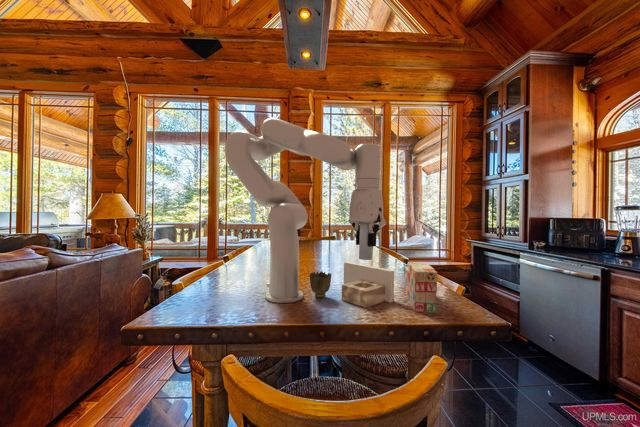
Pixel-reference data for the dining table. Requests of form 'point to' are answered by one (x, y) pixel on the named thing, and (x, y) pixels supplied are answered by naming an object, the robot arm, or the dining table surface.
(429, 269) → the stack of blocks
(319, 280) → the cup
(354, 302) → the socket block
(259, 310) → the dining table surface
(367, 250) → the dowel
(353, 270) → the backstop wall
